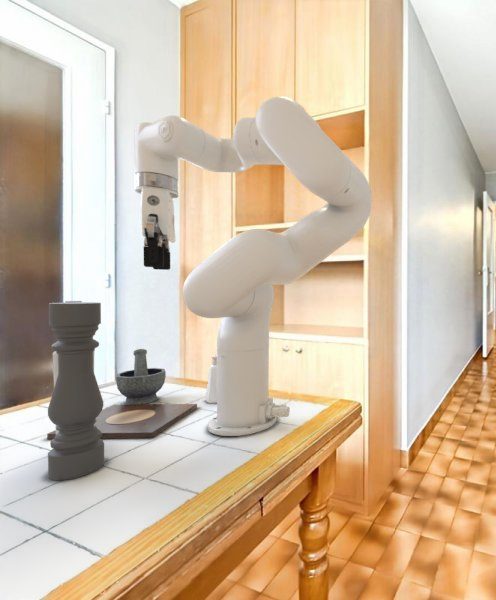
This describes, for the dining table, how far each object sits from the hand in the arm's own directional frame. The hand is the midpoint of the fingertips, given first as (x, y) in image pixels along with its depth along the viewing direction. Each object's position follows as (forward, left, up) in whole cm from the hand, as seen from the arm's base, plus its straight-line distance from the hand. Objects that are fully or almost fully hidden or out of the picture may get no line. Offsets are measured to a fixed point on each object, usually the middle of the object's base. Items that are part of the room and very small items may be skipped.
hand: (157, 268), depth 74 cm
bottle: (+4, +16, -32) cm, 36 cm away
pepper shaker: (-8, -10, -32) cm, 34 cm away
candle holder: (-2, +23, -32) cm, 39 cm away
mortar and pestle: (+10, -11, -32) cm, 35 cm away
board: (+3, +4, -32) cm, 32 cm away
